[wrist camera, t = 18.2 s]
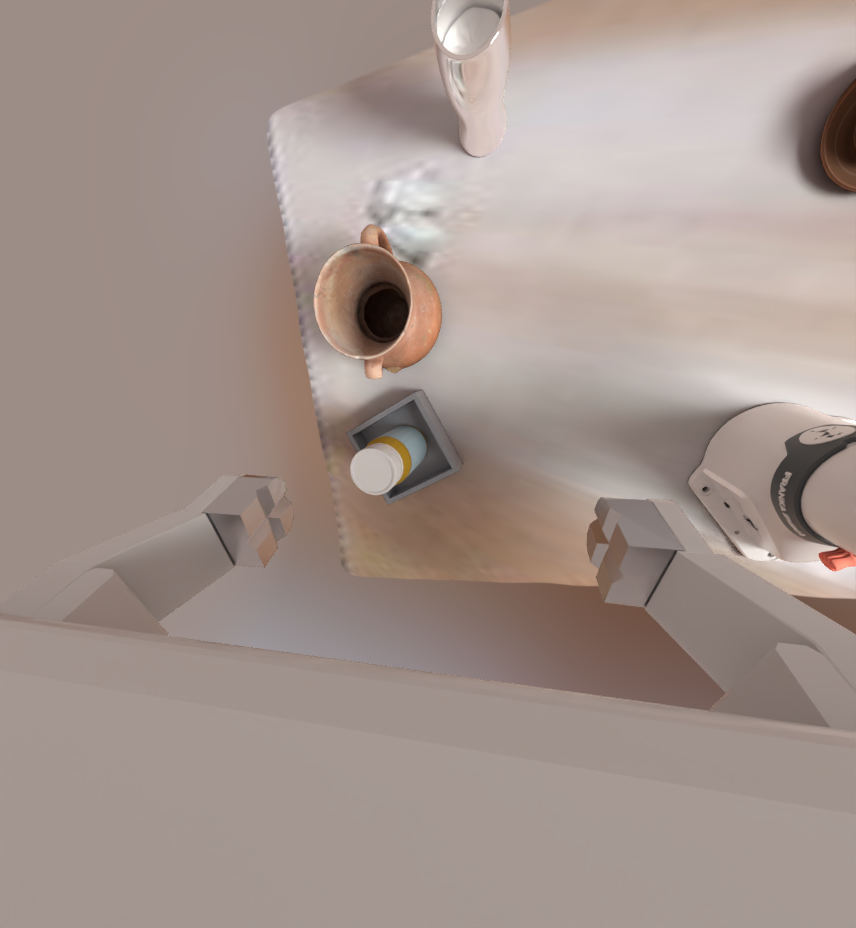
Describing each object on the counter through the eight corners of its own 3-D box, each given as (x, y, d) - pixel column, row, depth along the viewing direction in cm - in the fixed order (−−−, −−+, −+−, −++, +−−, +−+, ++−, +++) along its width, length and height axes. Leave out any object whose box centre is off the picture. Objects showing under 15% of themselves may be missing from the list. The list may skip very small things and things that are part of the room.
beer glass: (499, 78, 40) (493, -77, 26) (519, 139, 41) (523, 23, 27) (447, 116, 42) (415, -8, 28) (467, 173, 43) (446, 82, 29)
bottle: (433, 459, 55) (406, 492, 41) (396, 469, 57) (358, 503, 43) (420, 419, 53) (388, 438, 39) (382, 430, 55) (339, 452, 41)
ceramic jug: (442, 379, 52) (419, 383, 38) (357, 374, 55) (308, 377, 41) (449, 247, 46) (424, 200, 33) (354, 251, 49) (297, 208, 36)
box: (463, 463, 55) (459, 471, 50) (396, 495, 59) (388, 504, 55) (423, 389, 53) (415, 391, 49) (357, 428, 57) (345, 433, 53)
